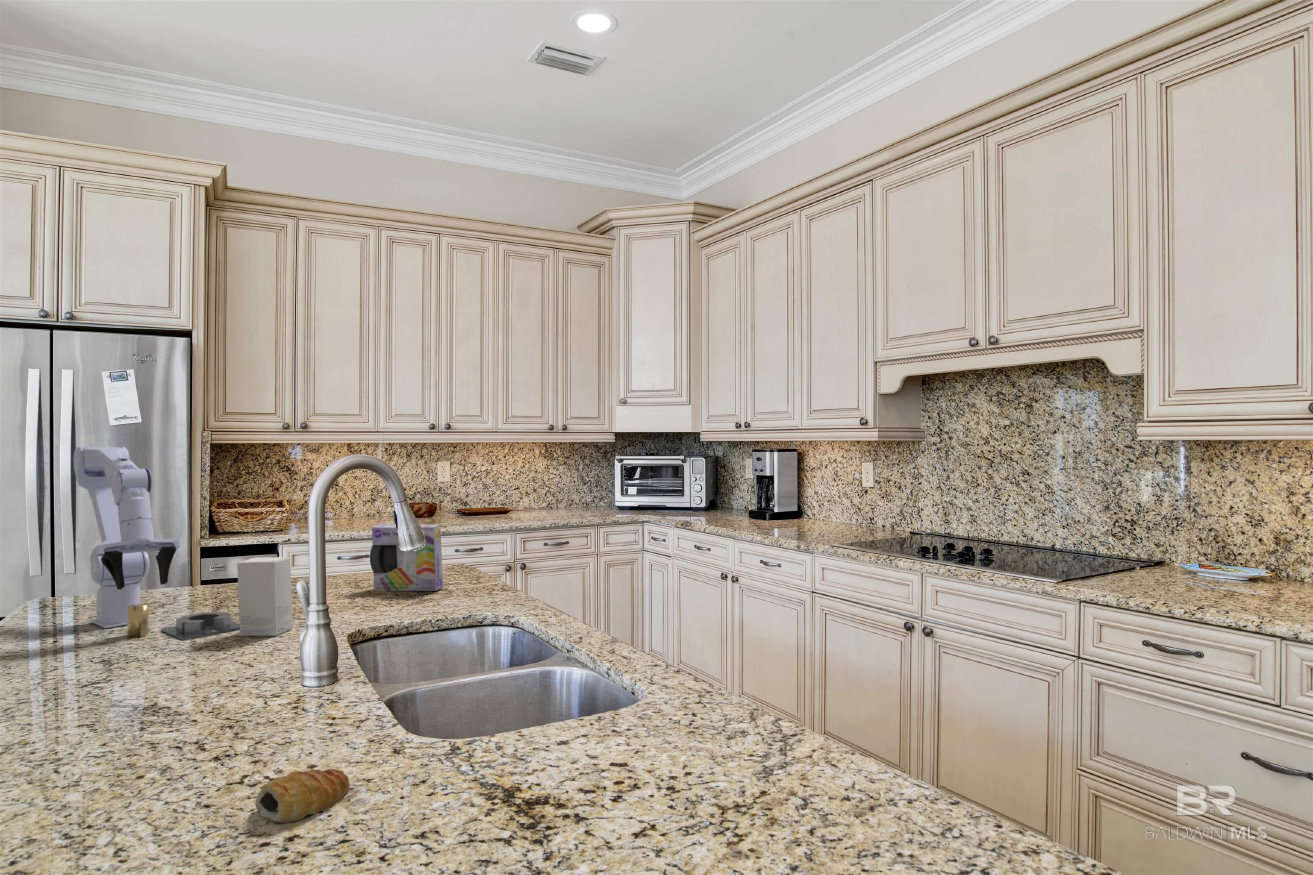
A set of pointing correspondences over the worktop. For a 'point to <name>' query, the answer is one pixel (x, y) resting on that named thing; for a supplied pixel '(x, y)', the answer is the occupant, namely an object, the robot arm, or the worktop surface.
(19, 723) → the worktop surface
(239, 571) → the skincare box
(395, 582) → the cake pan box
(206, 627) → the hub plate
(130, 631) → the gold metal block
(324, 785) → the pastry
